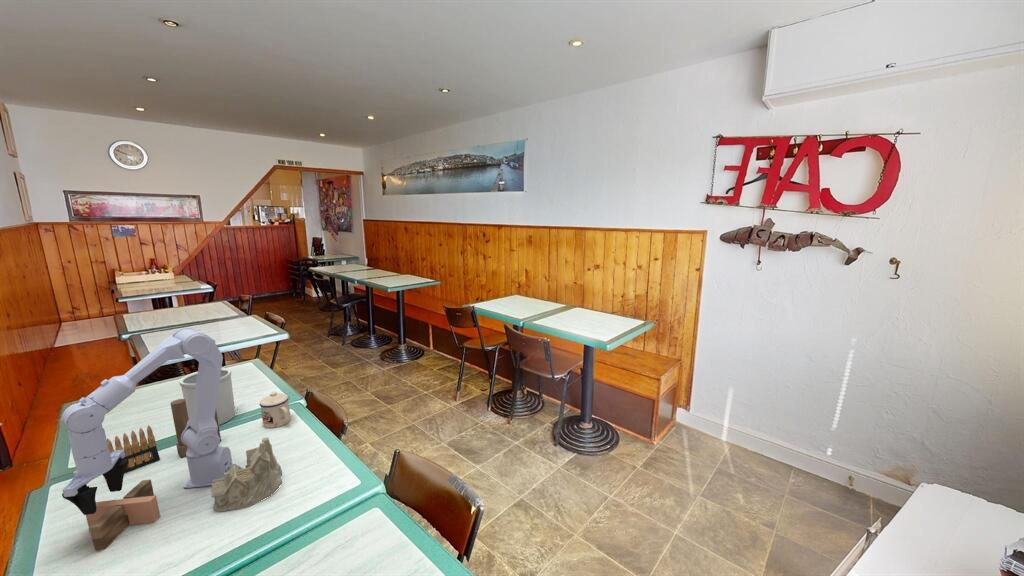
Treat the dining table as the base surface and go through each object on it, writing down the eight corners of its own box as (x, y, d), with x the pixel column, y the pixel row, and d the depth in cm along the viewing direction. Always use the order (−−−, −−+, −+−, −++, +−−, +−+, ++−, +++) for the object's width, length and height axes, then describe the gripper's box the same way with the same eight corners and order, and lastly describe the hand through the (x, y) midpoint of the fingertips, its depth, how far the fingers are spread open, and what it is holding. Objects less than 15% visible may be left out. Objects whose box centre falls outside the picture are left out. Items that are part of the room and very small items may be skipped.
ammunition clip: (112, 478, 113) (103, 441, 111) (110, 476, 114) (102, 438, 112) (160, 460, 122) (153, 424, 119) (158, 457, 123) (151, 423, 120)
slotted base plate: (146, 500, 105) (142, 480, 104) (154, 499, 105) (150, 479, 104) (94, 550, 89) (89, 527, 88) (104, 548, 90) (99, 526, 88)
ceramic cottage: (286, 463, 120) (276, 420, 116) (278, 501, 105) (267, 453, 101) (226, 479, 114) (213, 435, 110) (208, 522, 99) (193, 472, 95)
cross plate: (160, 516, 99) (156, 495, 98) (154, 522, 97) (150, 501, 96) (96, 523, 97) (91, 502, 96) (89, 529, 95) (83, 508, 94)
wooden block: (221, 441, 131) (213, 391, 128) (181, 458, 123) (171, 405, 119) (217, 438, 133) (209, 389, 130) (177, 454, 125) (167, 402, 121)
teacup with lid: (257, 424, 142) (253, 394, 139) (282, 413, 149) (278, 385, 147) (275, 433, 136) (271, 402, 133) (301, 421, 143) (297, 392, 141)
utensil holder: (198, 412, 150) (190, 370, 147) (243, 407, 154) (236, 365, 151) (179, 433, 136) (170, 386, 133) (228, 426, 141) (221, 380, 137)
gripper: (97, 436, 99) (109, 483, 102) (40, 473, 85) (55, 527, 88) (129, 433, 100) (140, 480, 103) (78, 469, 86) (92, 522, 89)
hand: (103, 501), depth 95 cm, fingers open, 7 cm apart
